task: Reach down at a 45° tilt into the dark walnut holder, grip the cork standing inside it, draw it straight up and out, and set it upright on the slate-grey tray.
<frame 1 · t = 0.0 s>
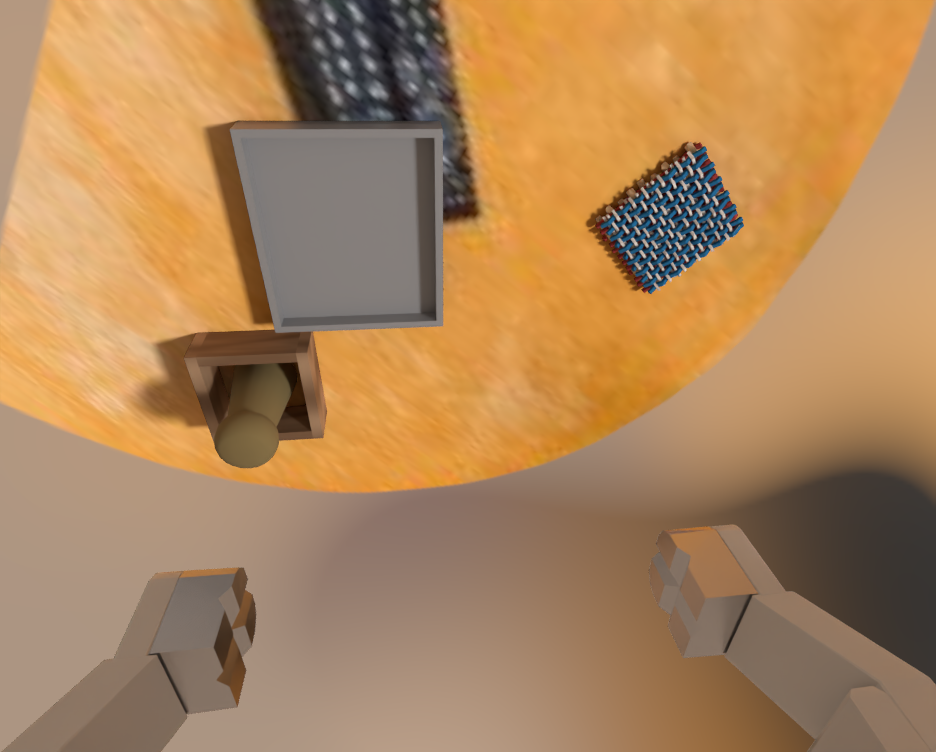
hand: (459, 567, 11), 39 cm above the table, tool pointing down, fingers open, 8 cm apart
tray: (352, 228, 46), on the table
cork: (266, 373, 54), resting in holder
woven mat: (663, 219, 50), on the table
holder: (266, 375, 54), on the table
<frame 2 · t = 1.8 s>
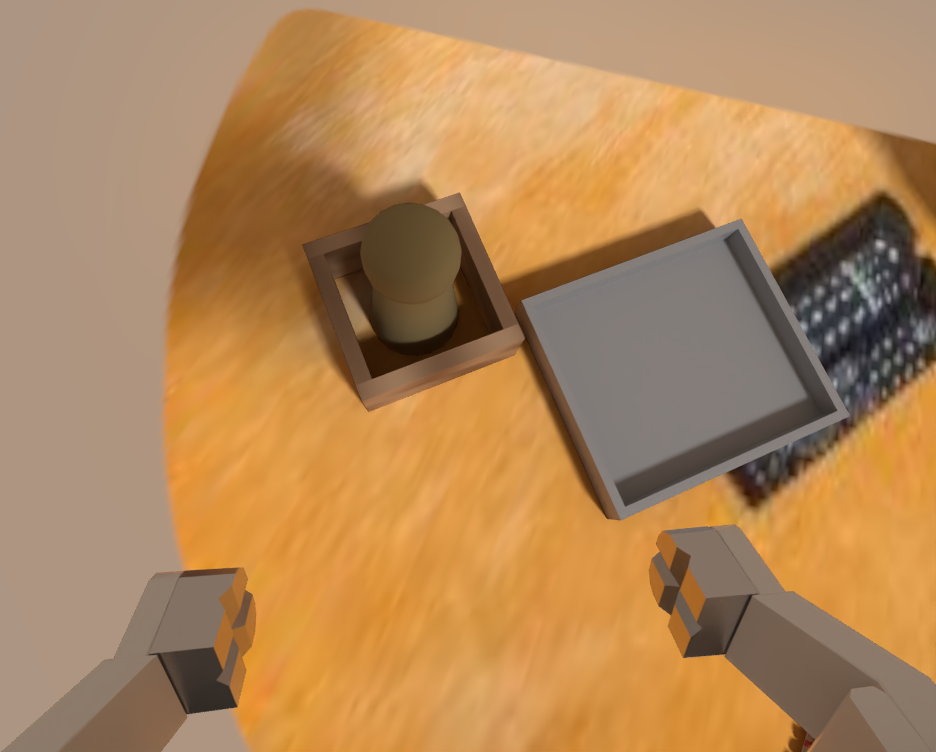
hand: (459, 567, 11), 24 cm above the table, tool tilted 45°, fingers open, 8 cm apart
tray: (668, 367, 38), on the table
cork: (414, 314, 37), resting in holder
holder: (414, 313, 37), on the table
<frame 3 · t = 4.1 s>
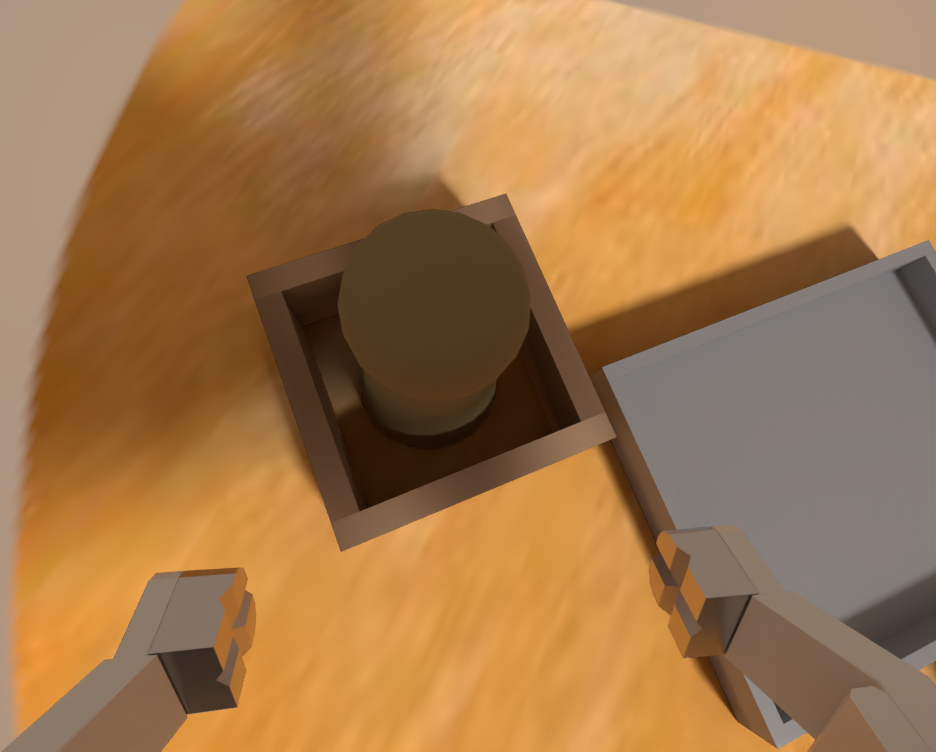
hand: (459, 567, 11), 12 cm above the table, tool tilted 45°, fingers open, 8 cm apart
tray: (818, 466, 25), on the table
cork: (428, 381, 24), resting in holder
holder: (428, 380, 24), on the table
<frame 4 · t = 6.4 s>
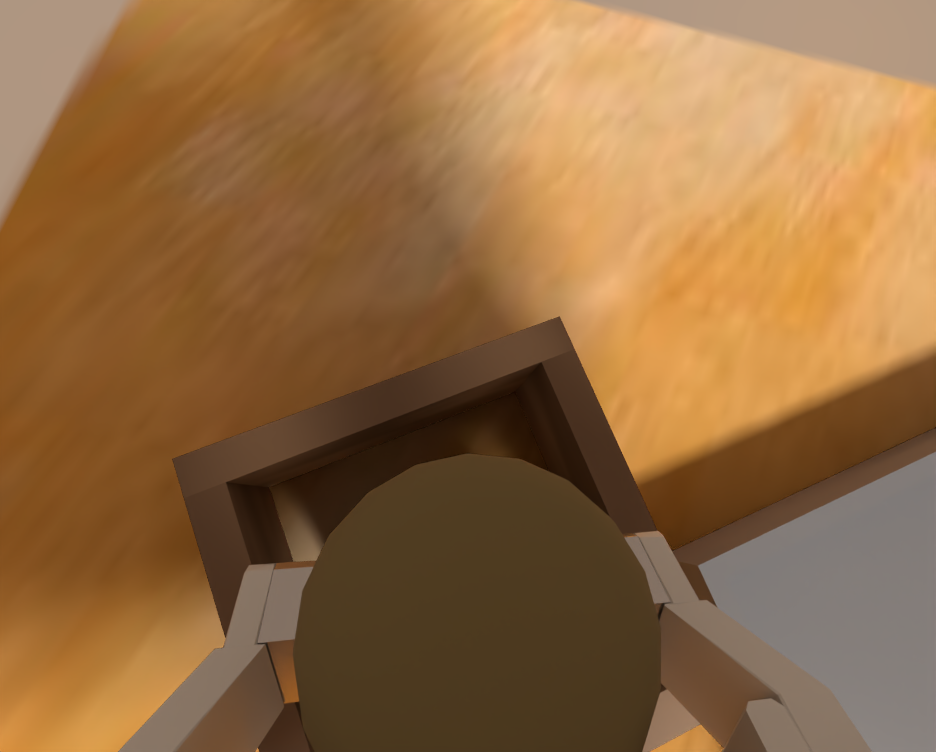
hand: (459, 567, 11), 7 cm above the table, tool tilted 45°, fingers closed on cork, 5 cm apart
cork: (444, 564, 17), resting in holder, touching gripper
holder: (444, 563, 17), on the table
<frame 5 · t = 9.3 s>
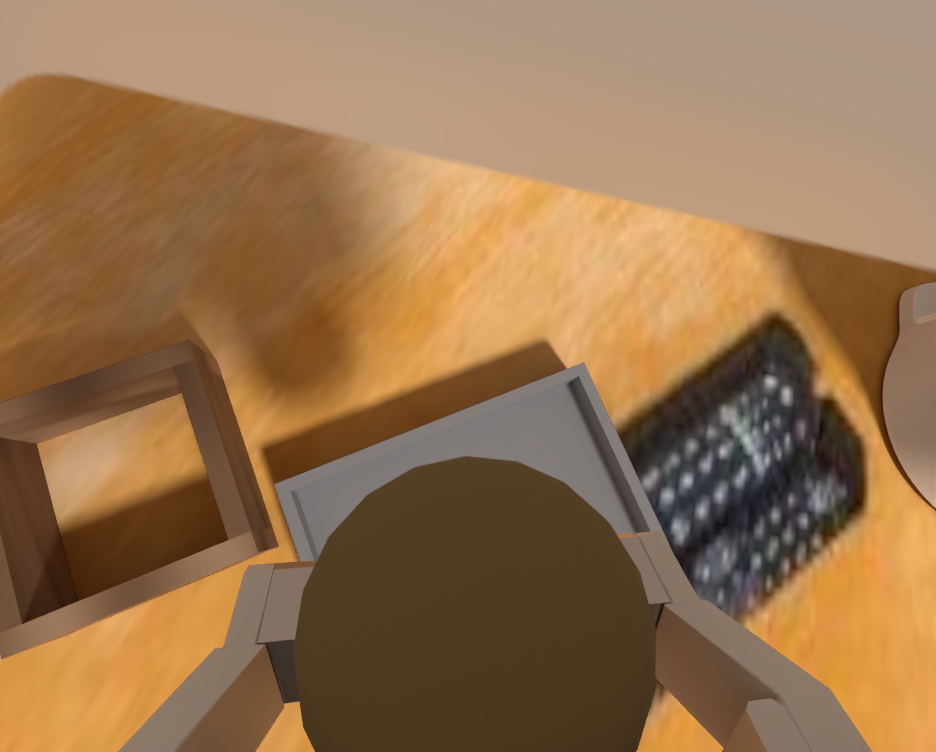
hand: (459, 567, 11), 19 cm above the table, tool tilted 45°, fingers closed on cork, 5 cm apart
tray: (488, 557, 29), on the table
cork: (443, 564, 17), point 12 cm above the table, touching gripper
holder: (144, 489, 28), on the table
when the fingers open (9 cm above the table, at t = 12.4 s): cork drops 1 cm, resting on tray.
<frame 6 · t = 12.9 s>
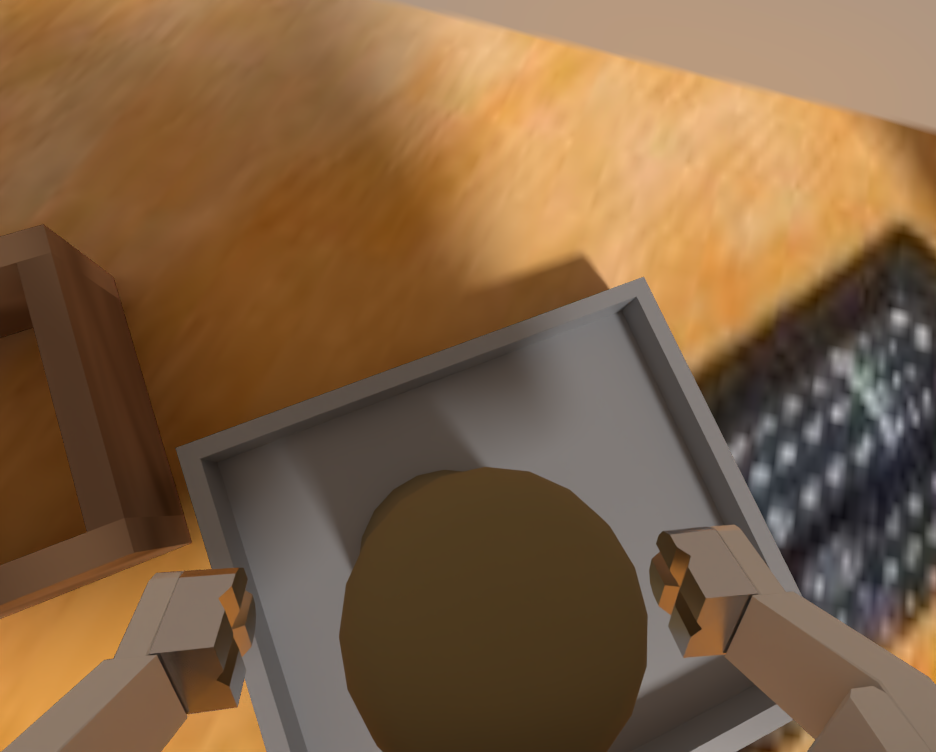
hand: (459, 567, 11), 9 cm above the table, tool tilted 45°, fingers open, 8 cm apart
tray: (501, 561, 20), on the table
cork: (448, 559, 19), point 1 cm above the table, touching tray
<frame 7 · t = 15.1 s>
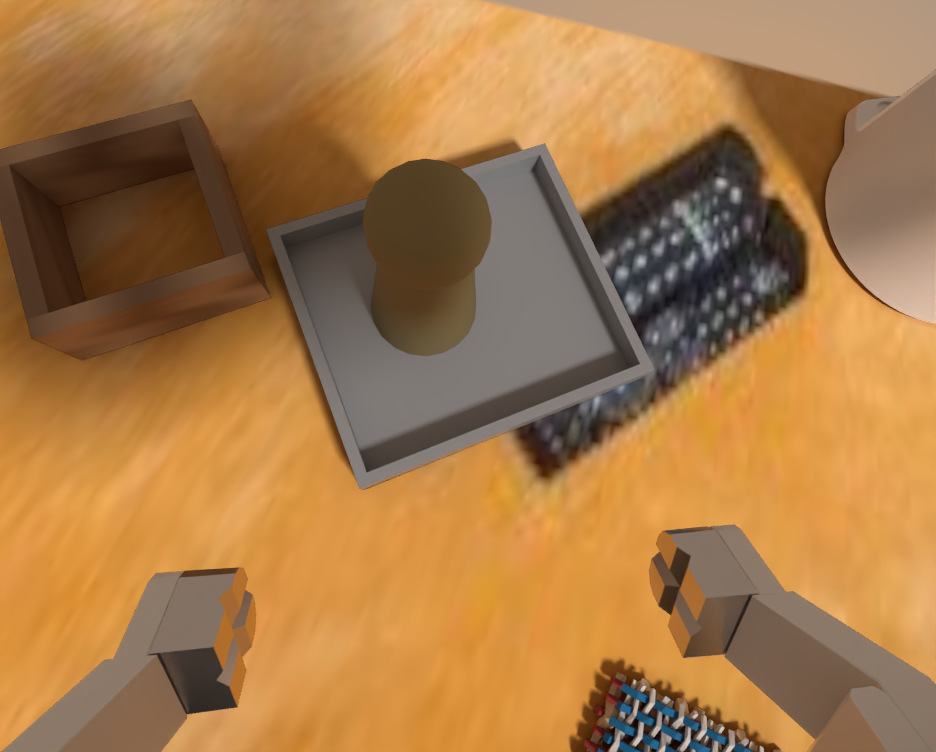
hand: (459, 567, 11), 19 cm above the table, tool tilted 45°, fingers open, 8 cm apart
tray: (457, 315, 32), on the table
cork: (423, 306, 31), point 1 cm above the table, touching tray
holder: (153, 247, 31), on the table
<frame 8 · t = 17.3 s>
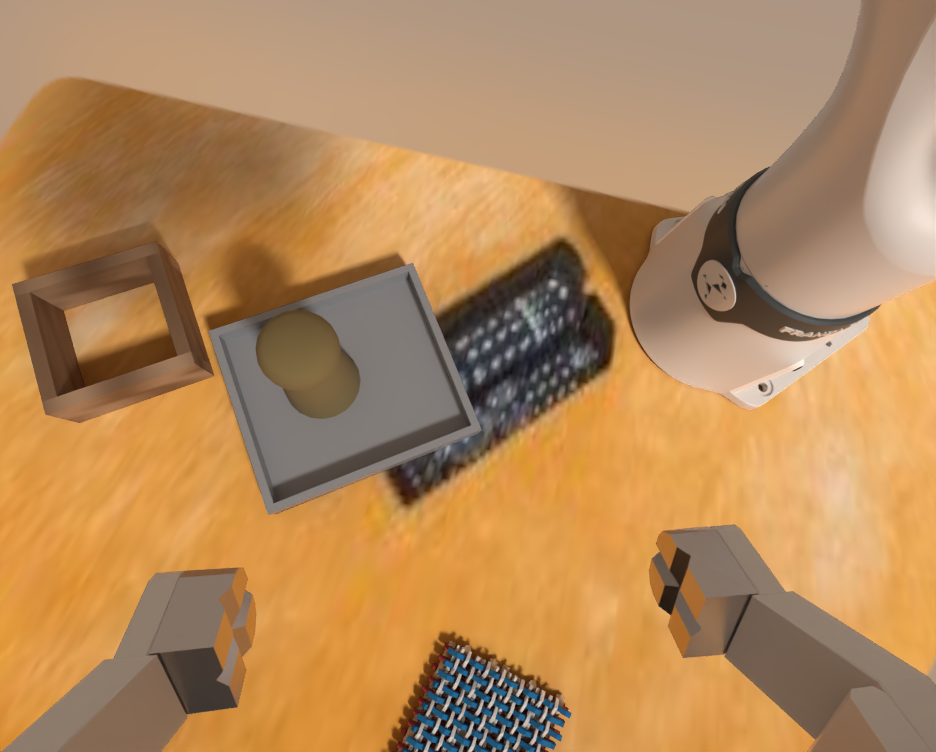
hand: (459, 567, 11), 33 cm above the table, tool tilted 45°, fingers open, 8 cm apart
tray: (349, 387, 45), on the table
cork: (322, 382, 44), point 1 cm above the table, touching tray
woven mat: (476, 731, 41), on the table
holder: (130, 339, 44), on the table
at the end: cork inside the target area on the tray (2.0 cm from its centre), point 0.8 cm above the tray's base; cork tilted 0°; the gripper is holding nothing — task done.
